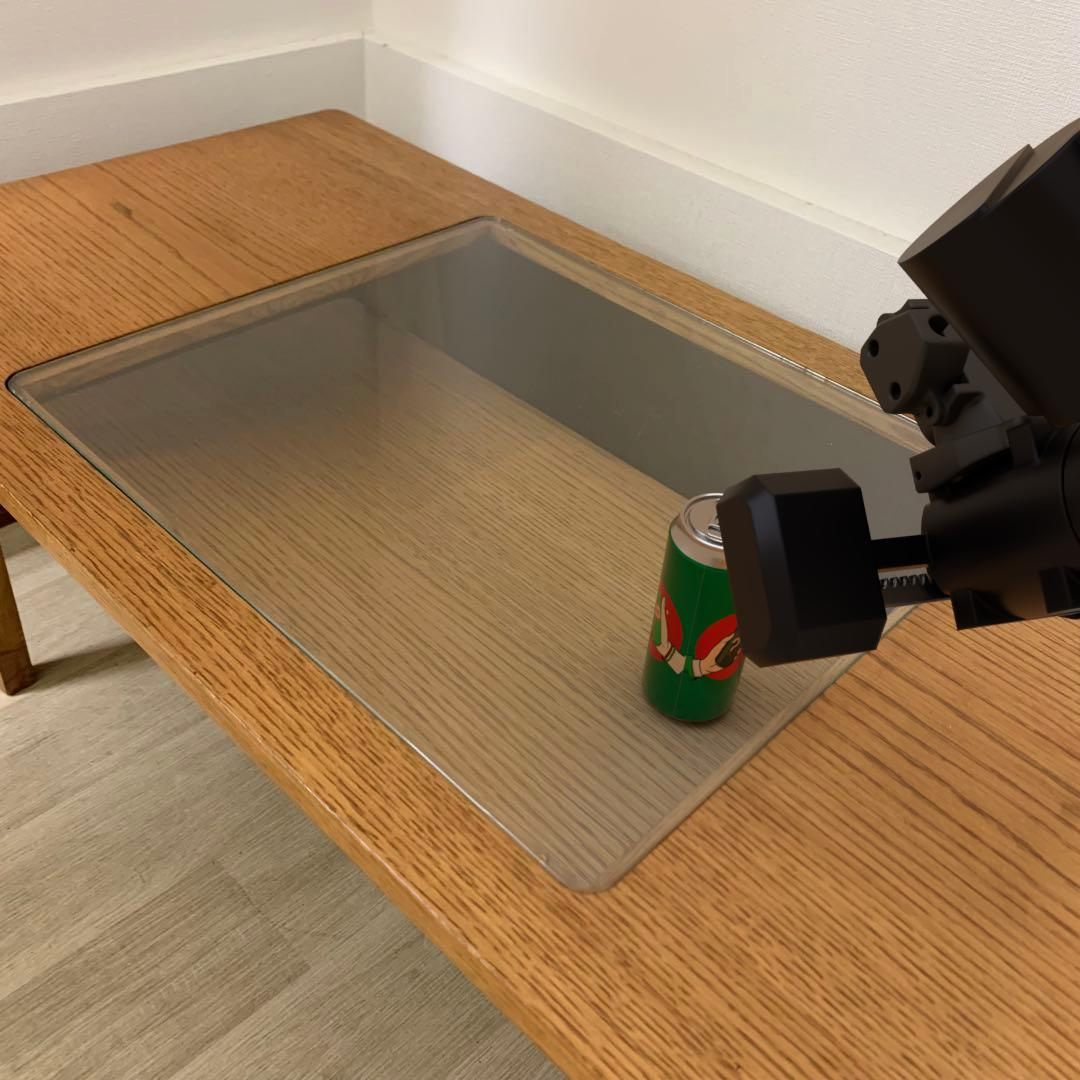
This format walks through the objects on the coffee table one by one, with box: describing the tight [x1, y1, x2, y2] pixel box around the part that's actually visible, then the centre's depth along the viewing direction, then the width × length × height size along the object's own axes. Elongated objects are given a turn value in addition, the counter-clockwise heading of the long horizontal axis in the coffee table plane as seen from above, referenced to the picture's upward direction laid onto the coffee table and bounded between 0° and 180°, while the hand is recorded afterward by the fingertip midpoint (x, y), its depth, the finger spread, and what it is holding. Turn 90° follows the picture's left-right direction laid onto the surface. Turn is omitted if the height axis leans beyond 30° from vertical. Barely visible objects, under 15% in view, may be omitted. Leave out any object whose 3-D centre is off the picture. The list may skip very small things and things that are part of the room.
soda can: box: [641, 492, 747, 723], centre depth 57 cm, size 5×5×12 cm
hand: (841, 585), depth 48 cm, fingers open, 9 cm apart
